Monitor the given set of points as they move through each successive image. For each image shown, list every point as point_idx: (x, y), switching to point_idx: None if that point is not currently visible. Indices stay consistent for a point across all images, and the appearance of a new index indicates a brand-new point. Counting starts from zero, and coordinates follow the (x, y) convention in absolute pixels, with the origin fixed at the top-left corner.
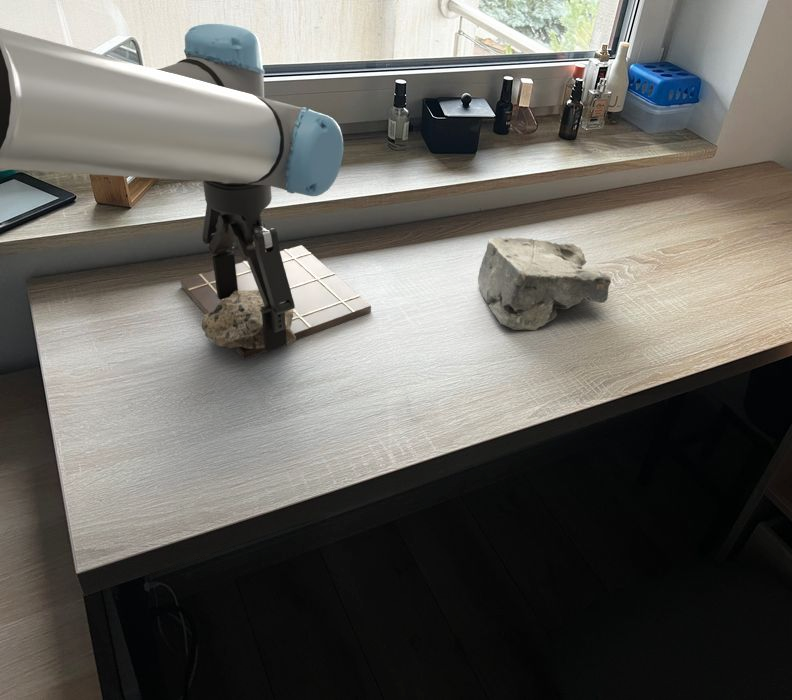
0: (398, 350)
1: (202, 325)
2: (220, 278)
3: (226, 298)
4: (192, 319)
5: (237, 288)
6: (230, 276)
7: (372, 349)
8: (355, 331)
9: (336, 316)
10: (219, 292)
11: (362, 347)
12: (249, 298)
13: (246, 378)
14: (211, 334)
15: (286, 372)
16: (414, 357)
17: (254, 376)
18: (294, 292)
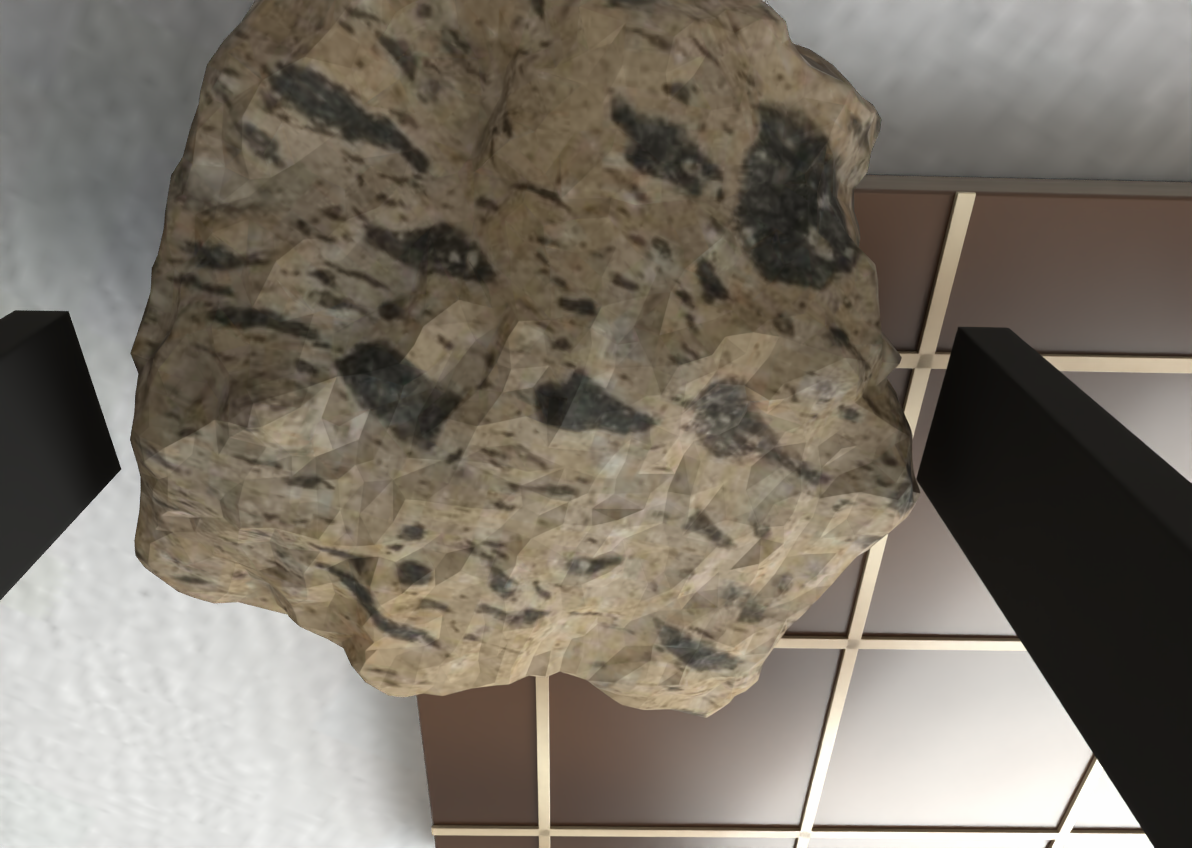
0: (114, 811)
1: None
2: (1069, 480)
3: (842, 374)
4: (1067, 59)
5: (941, 512)
6: (1027, 568)
7: (163, 744)
8: (339, 753)
9: (440, 763)
10: (994, 366)
11: (197, 722)
12: (705, 528)
13: (139, 67)
14: None
15: (115, 332)
16: (38, 830)
17: (143, 131)
18: (780, 712)
